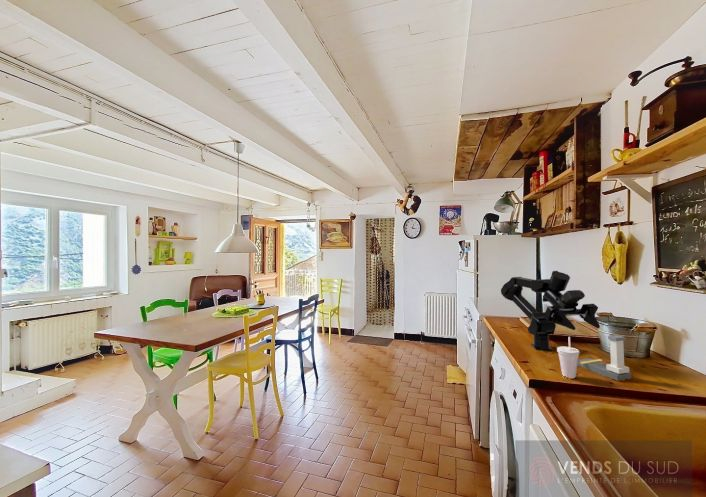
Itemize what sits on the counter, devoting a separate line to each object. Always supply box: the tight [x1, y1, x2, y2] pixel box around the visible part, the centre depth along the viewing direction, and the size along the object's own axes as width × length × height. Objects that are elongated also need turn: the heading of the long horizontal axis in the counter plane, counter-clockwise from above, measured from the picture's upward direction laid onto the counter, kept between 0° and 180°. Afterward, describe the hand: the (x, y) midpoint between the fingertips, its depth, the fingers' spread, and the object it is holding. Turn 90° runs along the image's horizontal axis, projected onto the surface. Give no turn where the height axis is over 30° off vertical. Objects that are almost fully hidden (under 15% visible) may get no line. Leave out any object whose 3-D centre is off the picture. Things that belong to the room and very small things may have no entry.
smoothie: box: [556, 336, 580, 378], centre depth 104 cm, size 6×6×14 cm
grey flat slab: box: [577, 357, 632, 381], centre depth 107 cm, size 14×9×2 cm, turn 12°
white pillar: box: [606, 334, 630, 374], centre depth 102 cm, size 4×4×12 cm
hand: (586, 328), depth 109 cm, fingers open, 9 cm apart
